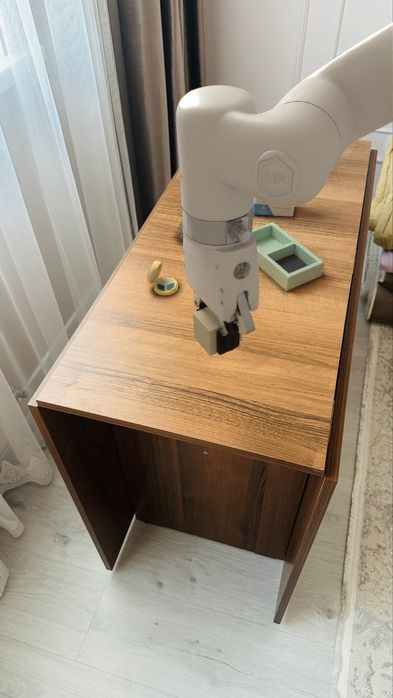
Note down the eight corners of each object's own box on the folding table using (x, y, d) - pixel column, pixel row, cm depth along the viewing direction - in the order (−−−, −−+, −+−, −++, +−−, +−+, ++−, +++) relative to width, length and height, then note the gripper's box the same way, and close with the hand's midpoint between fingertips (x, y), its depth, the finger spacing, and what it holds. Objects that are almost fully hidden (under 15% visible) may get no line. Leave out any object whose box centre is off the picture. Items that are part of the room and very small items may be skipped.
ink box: (252, 215, 106) (256, 163, 97) (253, 203, 109) (256, 151, 101) (293, 217, 105) (301, 164, 96) (292, 204, 108) (300, 152, 100)
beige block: (242, 341, 66) (243, 316, 62) (210, 356, 64) (209, 331, 61) (225, 323, 68) (225, 298, 65) (194, 337, 66) (192, 312, 63)
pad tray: (271, 235, 101) (272, 221, 99) (321, 275, 92) (324, 262, 89) (238, 247, 98) (238, 234, 96) (286, 291, 89) (288, 277, 87)
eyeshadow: (170, 298, 88) (168, 276, 85) (146, 290, 90) (143, 268, 86) (182, 283, 91) (181, 261, 87) (158, 276, 93) (156, 254, 89)
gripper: (296, 245, 49) (279, 367, 62) (206, 175, 59) (208, 294, 72) (232, 271, 46) (229, 392, 60) (149, 194, 56) (163, 313, 70)
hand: (218, 337), depth 66 cm, fingers closed on beige block, 4 cm apart
